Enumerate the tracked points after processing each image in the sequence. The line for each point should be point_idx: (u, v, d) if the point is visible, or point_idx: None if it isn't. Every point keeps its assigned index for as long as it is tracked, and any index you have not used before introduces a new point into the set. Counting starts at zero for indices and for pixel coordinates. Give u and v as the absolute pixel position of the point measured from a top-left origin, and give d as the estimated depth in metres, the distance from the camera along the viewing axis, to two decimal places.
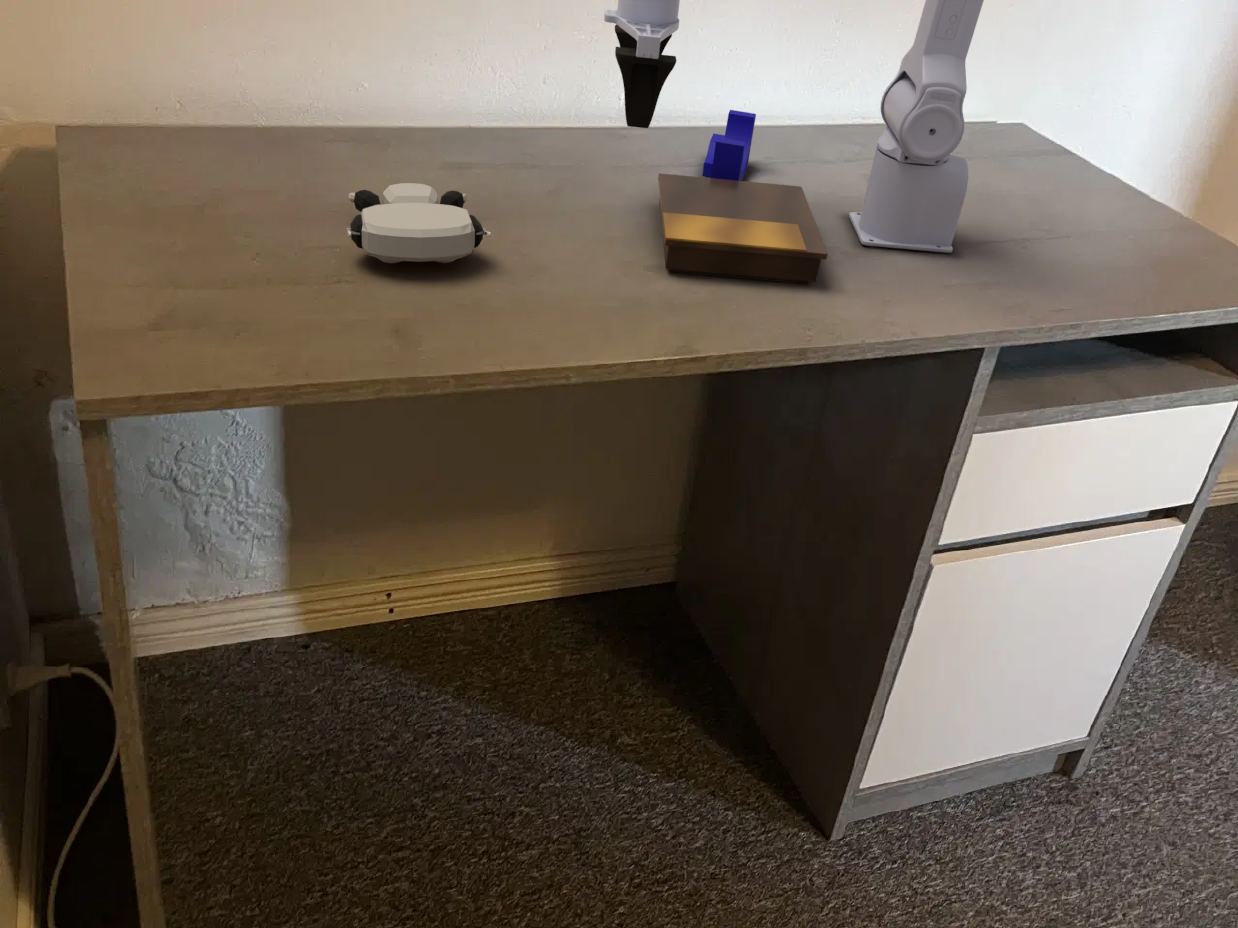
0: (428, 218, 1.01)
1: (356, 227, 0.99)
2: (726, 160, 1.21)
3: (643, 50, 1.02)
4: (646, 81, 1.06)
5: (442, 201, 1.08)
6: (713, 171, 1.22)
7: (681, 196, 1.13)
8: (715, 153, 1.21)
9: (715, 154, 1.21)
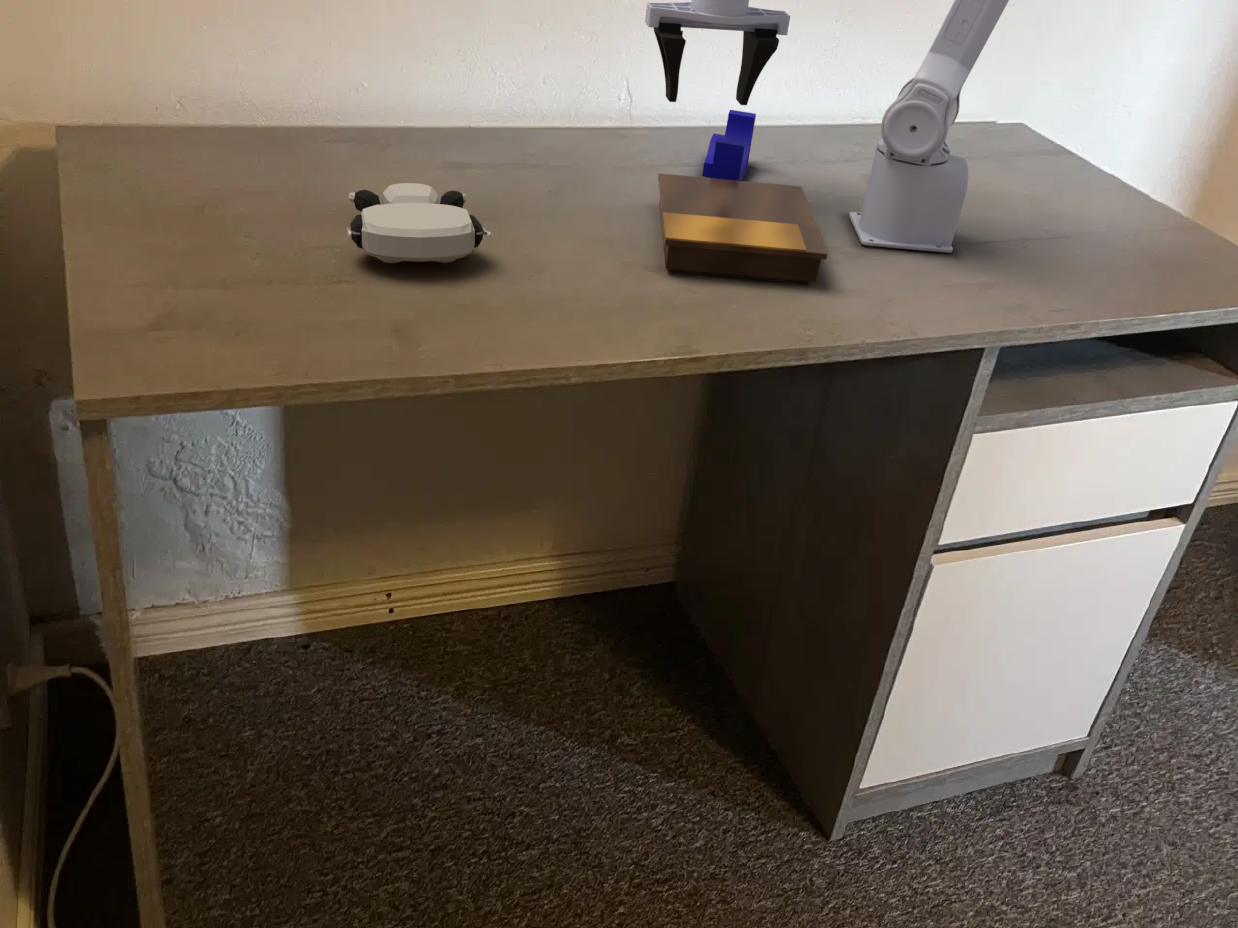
0: (428, 218, 1.01)
1: (356, 227, 0.99)
2: (726, 160, 1.21)
3: (646, 17, 1.14)
4: None
5: (442, 201, 1.08)
6: (713, 171, 1.22)
7: (681, 196, 1.13)
8: (715, 153, 1.21)
9: (715, 154, 1.21)
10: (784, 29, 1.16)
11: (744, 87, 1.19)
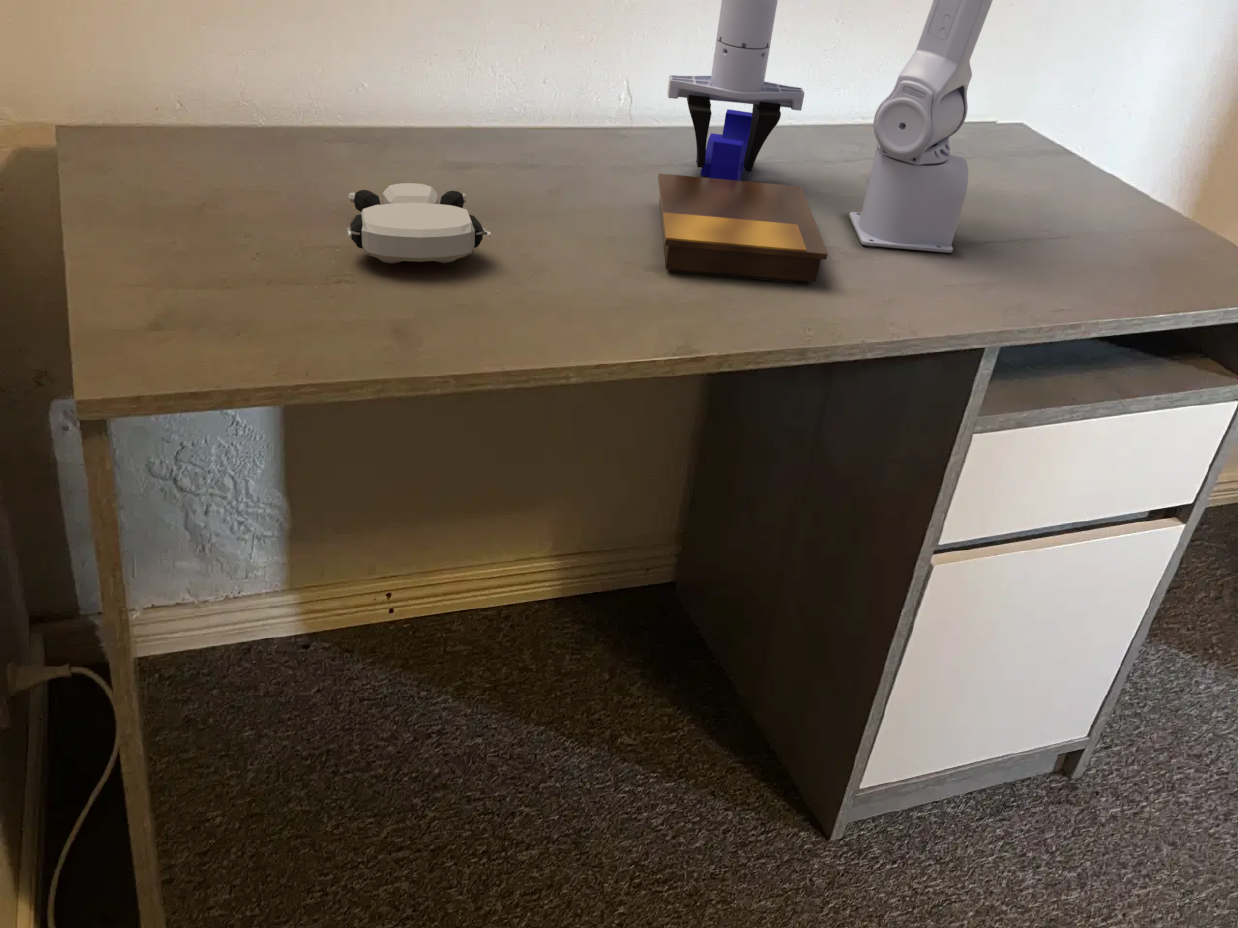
0: (428, 218, 1.01)
1: (356, 227, 0.99)
2: (724, 159, 1.21)
3: (668, 88, 1.23)
4: None
5: (442, 201, 1.08)
6: (711, 171, 1.22)
7: (681, 196, 1.13)
8: (713, 153, 1.21)
9: (713, 154, 1.21)
10: (798, 105, 1.23)
11: (748, 155, 1.26)
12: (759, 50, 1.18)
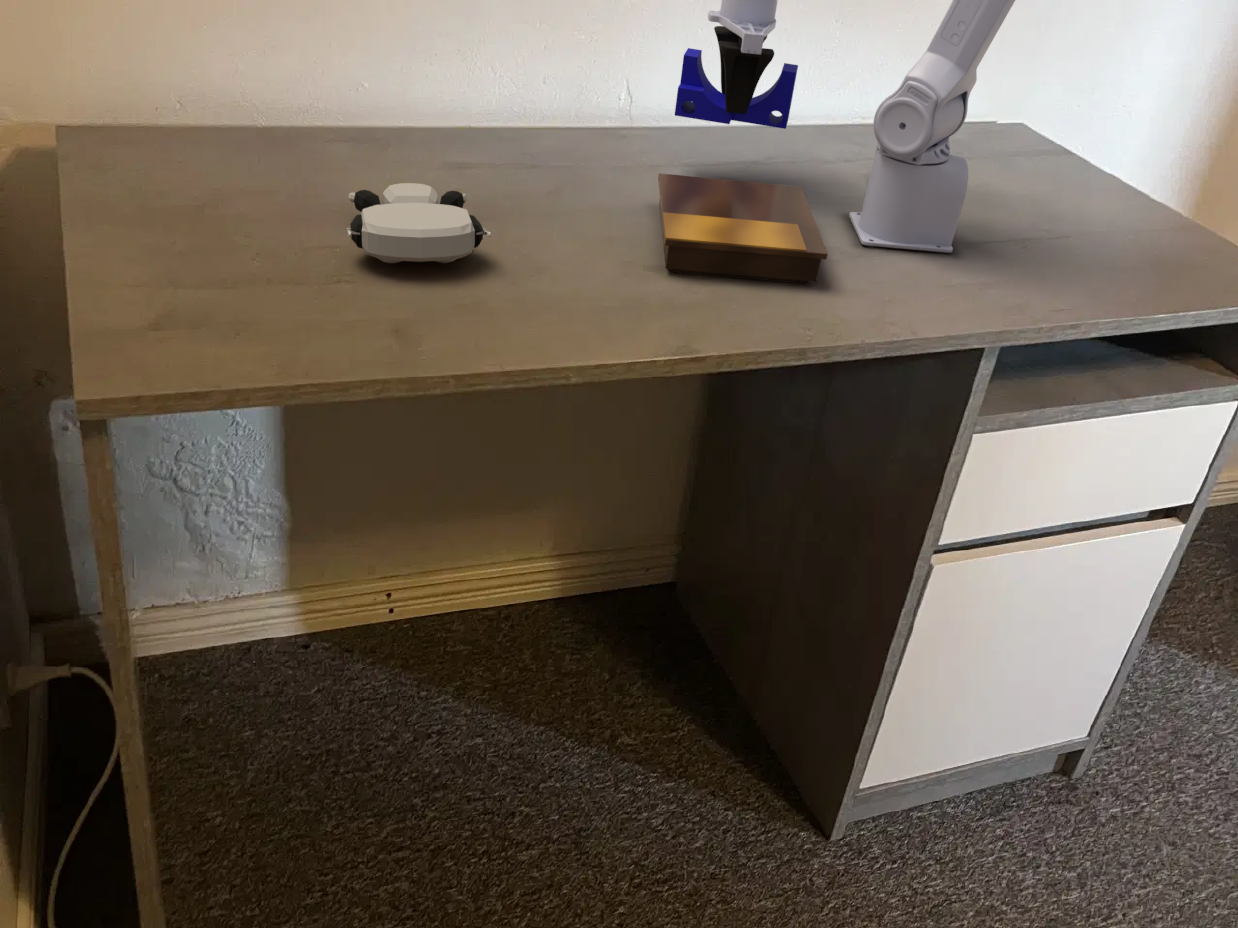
0: (428, 218, 1.01)
1: (356, 227, 0.99)
2: None
3: (748, 46, 1.13)
4: (746, 72, 1.19)
5: (442, 201, 1.08)
6: (790, 102, 1.22)
7: (681, 196, 1.13)
8: (793, 84, 1.21)
9: (793, 85, 1.21)
10: None
11: None
12: None
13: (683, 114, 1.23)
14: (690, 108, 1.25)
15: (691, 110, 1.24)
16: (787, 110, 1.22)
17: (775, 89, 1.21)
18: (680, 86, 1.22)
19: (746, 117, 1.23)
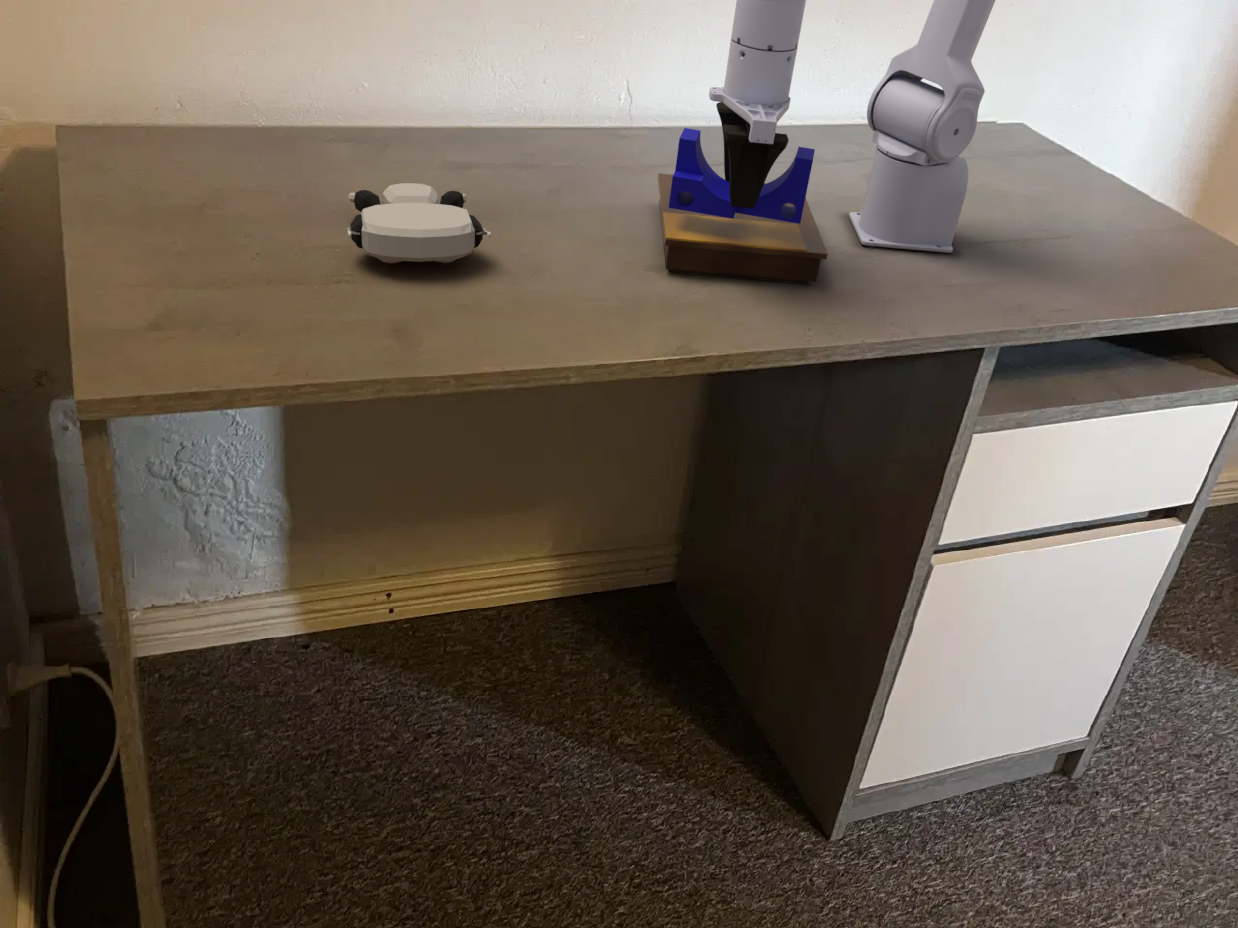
0: (428, 218, 1.01)
1: (356, 227, 0.99)
2: None
3: (757, 135, 0.94)
4: (754, 160, 1.00)
5: (442, 201, 1.08)
6: None
7: None
8: None
9: (809, 174, 1.02)
10: None
11: None
12: None
13: (679, 206, 1.04)
14: (687, 197, 1.06)
15: (688, 201, 1.05)
16: (802, 202, 1.03)
17: (788, 178, 1.02)
18: (675, 174, 1.03)
19: (753, 210, 1.04)
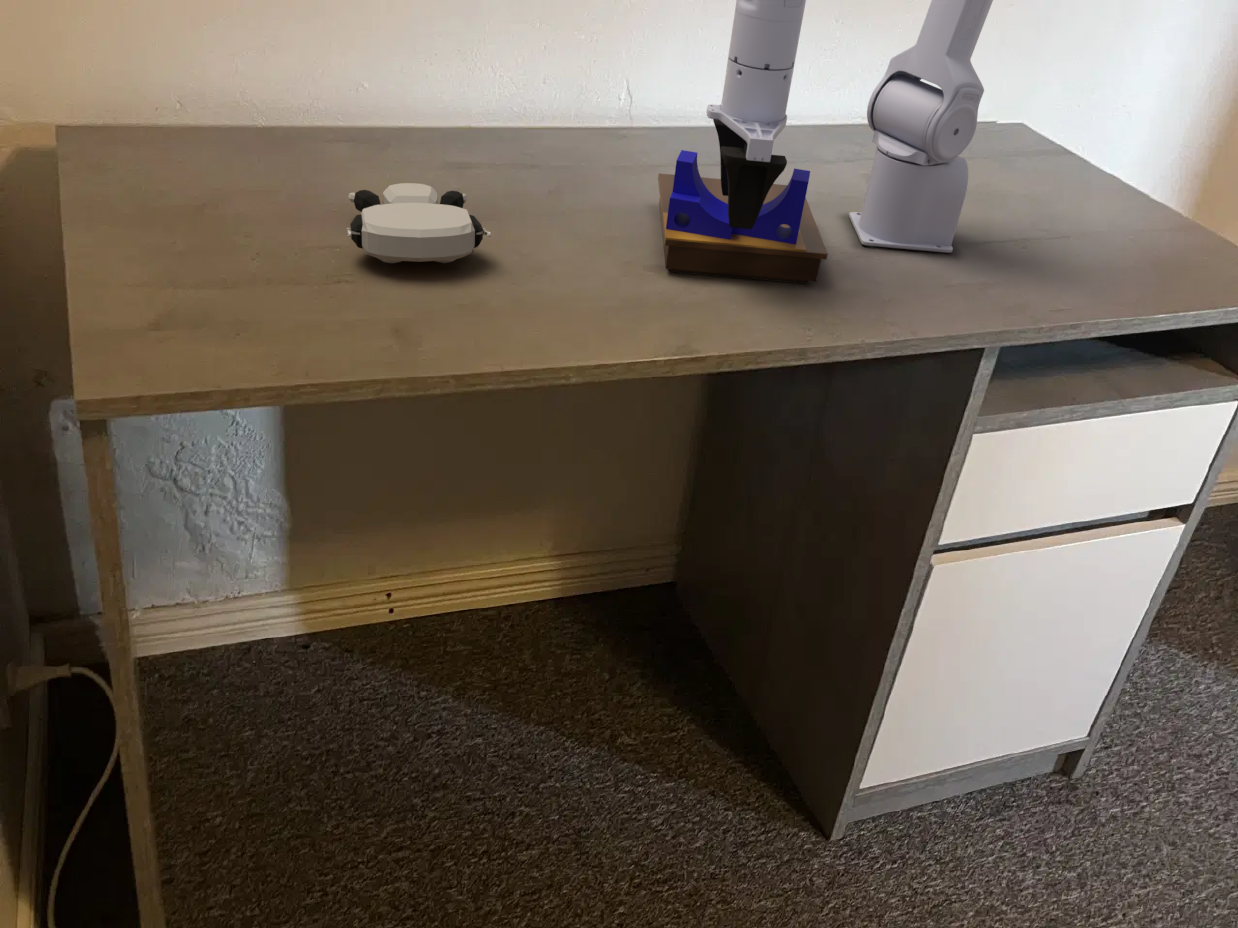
0: (428, 218, 1.01)
1: (356, 227, 0.99)
2: None
3: (754, 153, 0.95)
4: (752, 182, 1.00)
5: (442, 201, 1.08)
6: (801, 215, 1.04)
7: None
8: (805, 194, 1.03)
9: (805, 196, 1.03)
10: None
11: None
12: None
13: (676, 227, 1.05)
14: (684, 218, 1.07)
15: (685, 222, 1.06)
16: (798, 223, 1.04)
17: (784, 200, 1.03)
18: (672, 196, 1.04)
19: (749, 230, 1.05)
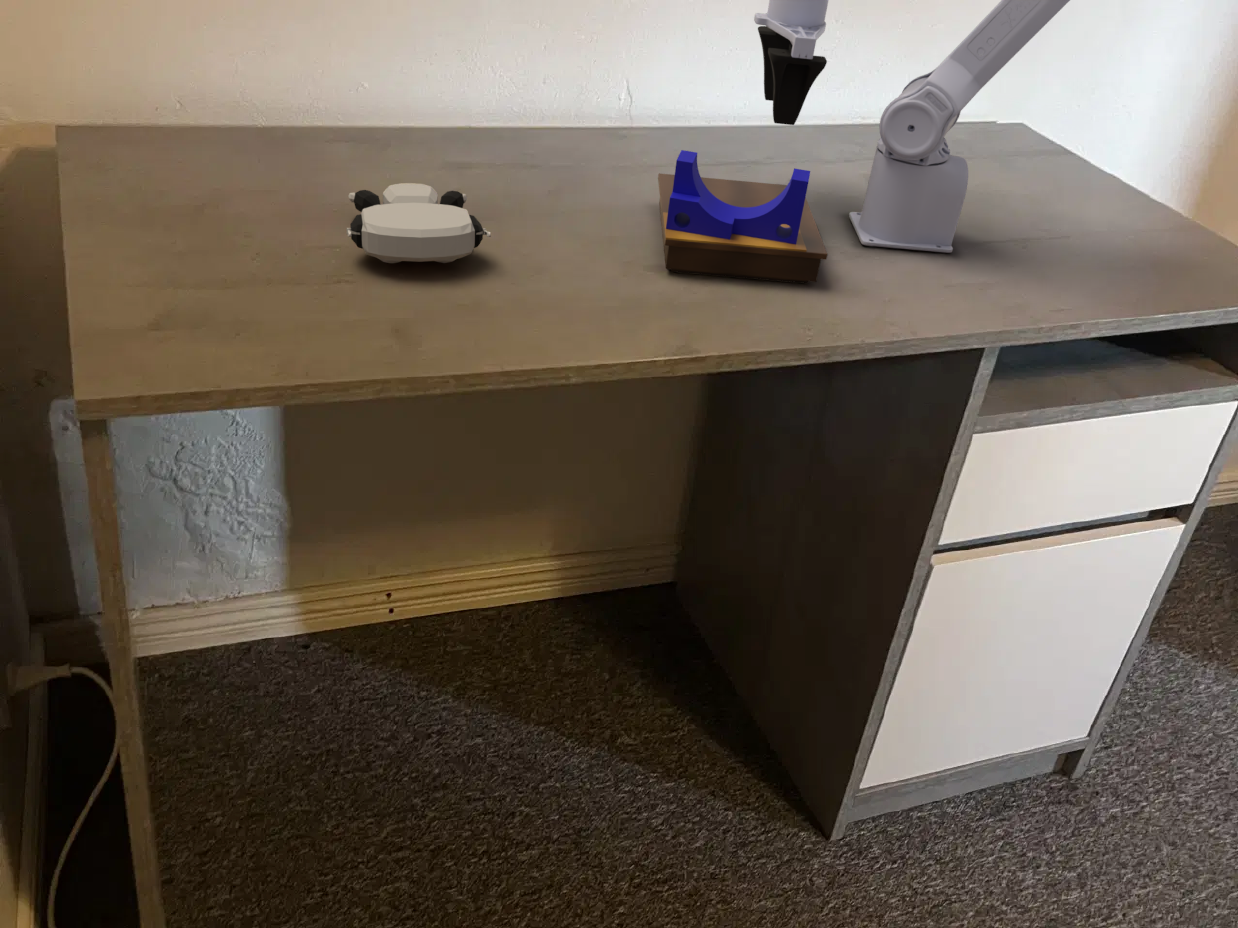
0: (428, 218, 1.01)
1: (356, 227, 0.99)
2: None
3: (799, 51, 1.08)
4: (795, 80, 1.12)
5: (442, 201, 1.08)
6: (801, 215, 1.04)
7: None
8: (805, 194, 1.03)
9: (805, 195, 1.03)
10: None
11: None
12: None
13: (676, 227, 1.05)
14: (684, 219, 1.07)
15: (685, 222, 1.06)
16: (798, 223, 1.04)
17: (784, 200, 1.03)
18: (672, 195, 1.04)
19: (749, 230, 1.05)
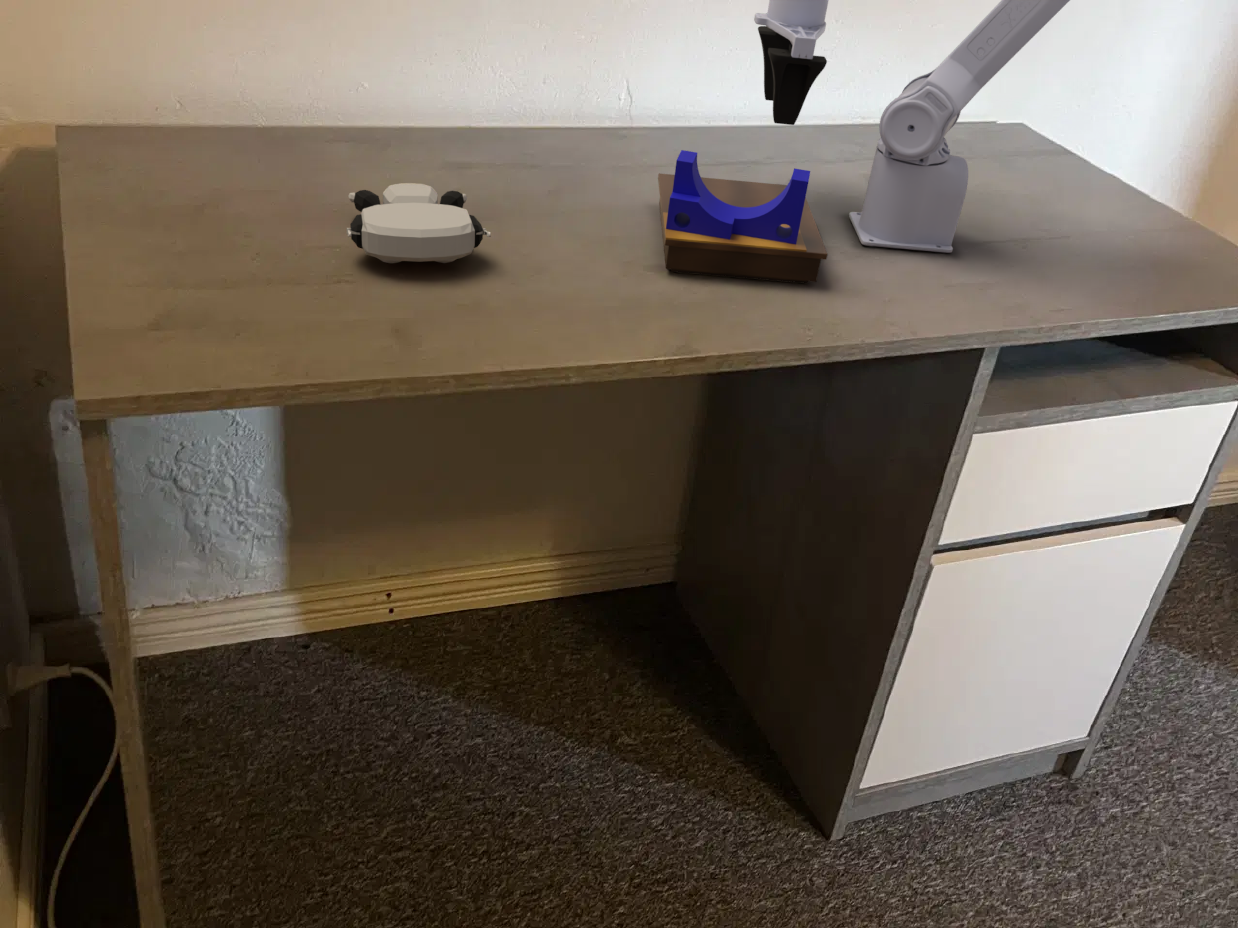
0: (428, 218, 1.01)
1: (356, 227, 0.99)
2: None
3: (799, 51, 1.08)
4: (795, 80, 1.12)
5: (442, 201, 1.08)
6: (801, 215, 1.04)
7: None
8: (805, 194, 1.03)
9: (805, 195, 1.03)
10: None
11: None
12: None
13: (676, 227, 1.05)
14: (684, 219, 1.07)
15: (685, 222, 1.06)
16: (798, 223, 1.04)
17: (784, 200, 1.03)
18: (672, 195, 1.04)
19: (749, 230, 1.05)
